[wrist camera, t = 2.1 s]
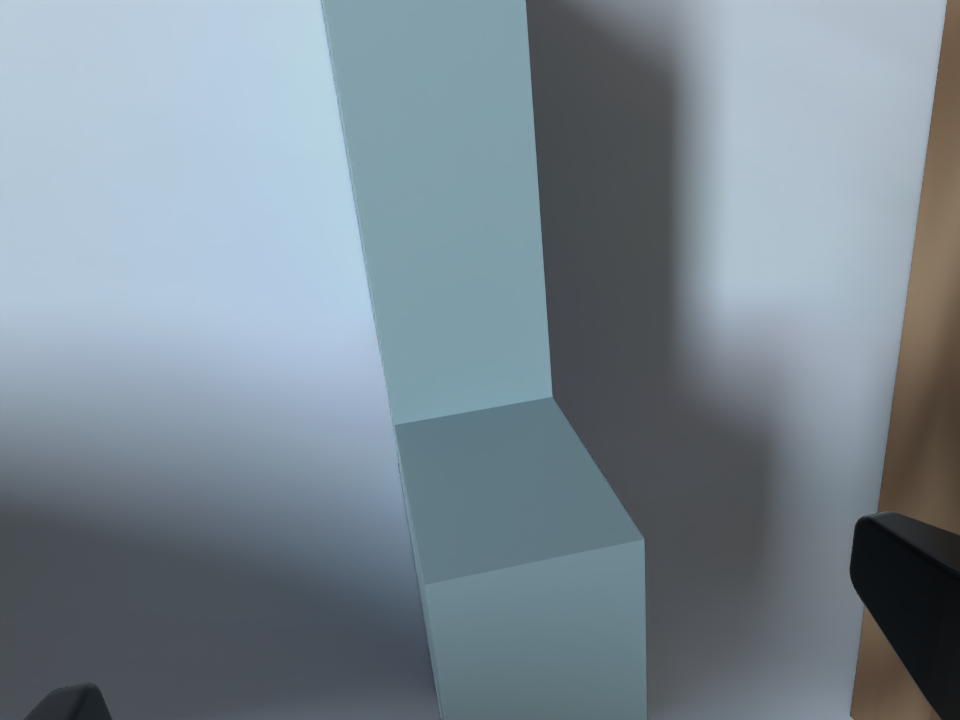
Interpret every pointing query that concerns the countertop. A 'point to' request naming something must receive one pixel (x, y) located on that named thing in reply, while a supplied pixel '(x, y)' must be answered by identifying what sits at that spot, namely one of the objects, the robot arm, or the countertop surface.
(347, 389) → the countertop surface
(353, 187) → the slate-blue slotted plate
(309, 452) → the countertop surface
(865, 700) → the walnut slotted board
